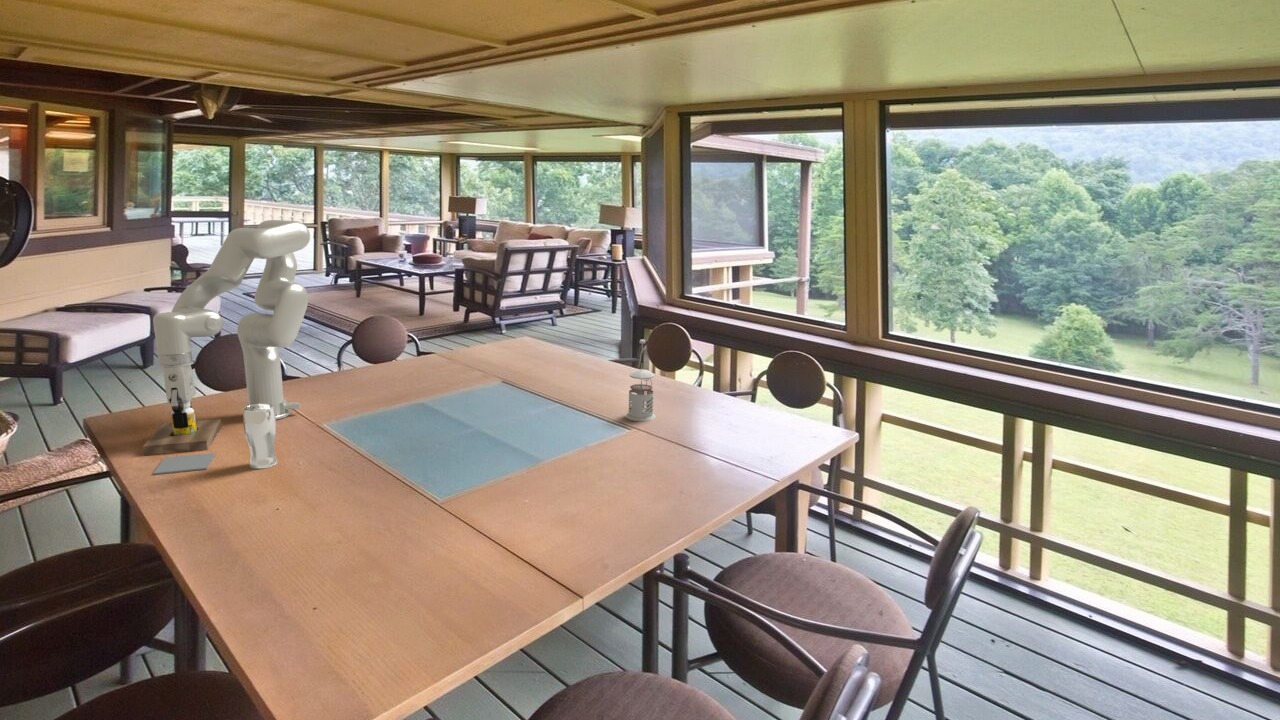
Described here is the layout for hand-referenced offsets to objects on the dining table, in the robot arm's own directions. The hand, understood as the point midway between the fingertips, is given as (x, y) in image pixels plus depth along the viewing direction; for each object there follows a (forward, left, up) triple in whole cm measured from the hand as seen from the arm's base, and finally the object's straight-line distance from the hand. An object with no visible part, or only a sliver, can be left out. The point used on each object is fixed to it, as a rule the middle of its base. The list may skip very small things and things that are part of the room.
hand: (184, 423), depth 188 cm
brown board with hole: (0, 0, -5) cm, 5 cm away
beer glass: (-22, +26, -5) cm, 34 cm away
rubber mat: (-4, +20, -5) cm, 21 cm away
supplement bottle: (0, 0, -4) cm, 4 cm away
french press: (-128, +15, -5) cm, 129 cm away
